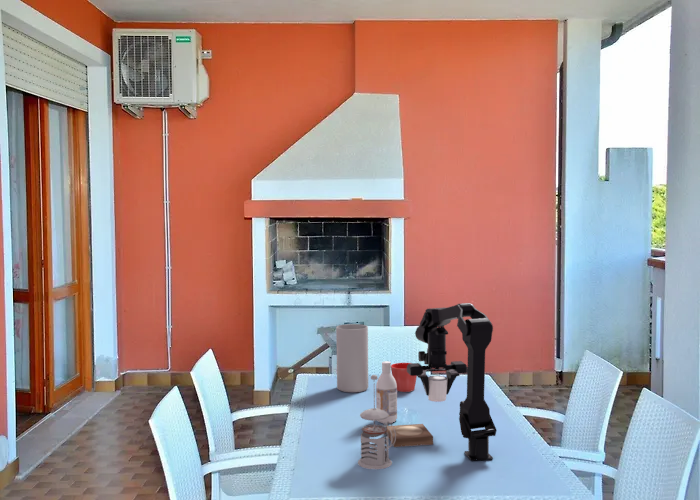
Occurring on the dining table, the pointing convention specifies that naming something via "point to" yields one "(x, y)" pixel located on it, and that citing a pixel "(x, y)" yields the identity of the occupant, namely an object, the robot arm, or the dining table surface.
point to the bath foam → (387, 393)
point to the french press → (381, 455)
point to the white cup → (437, 388)
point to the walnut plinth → (410, 435)
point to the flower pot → (403, 377)
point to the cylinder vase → (352, 357)
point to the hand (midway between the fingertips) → (437, 394)
